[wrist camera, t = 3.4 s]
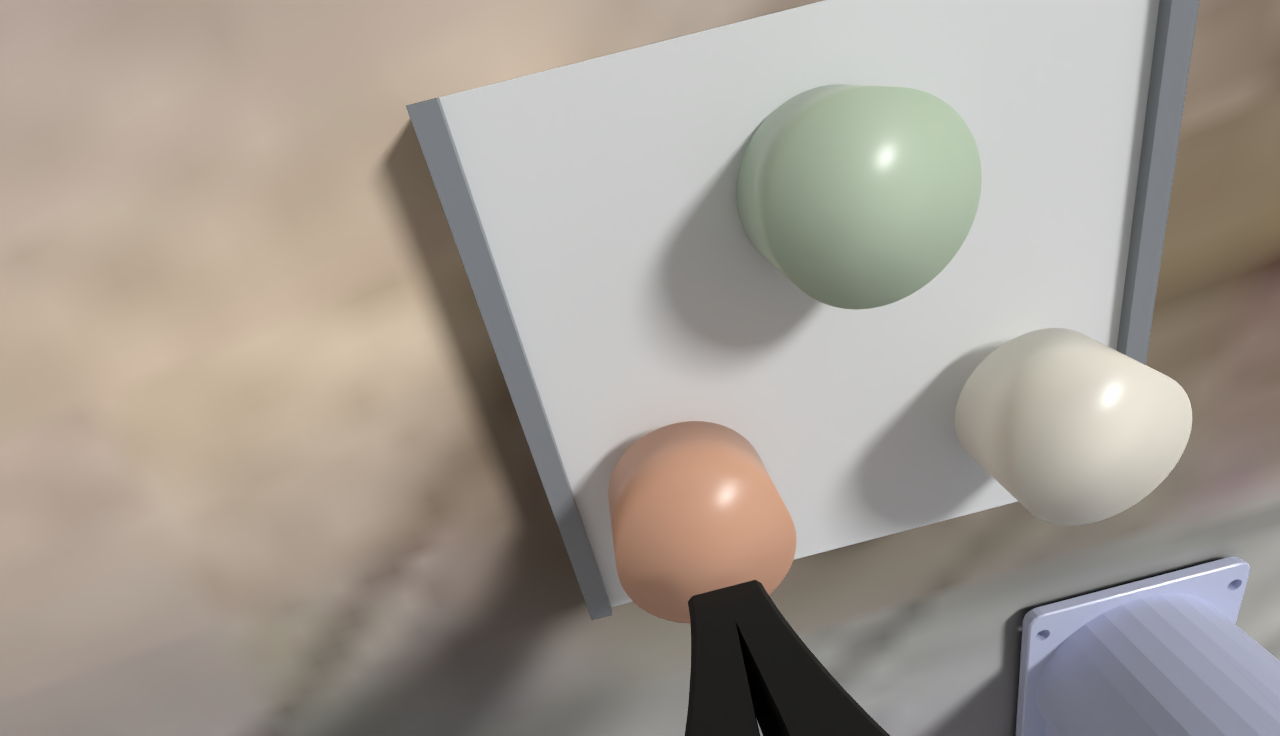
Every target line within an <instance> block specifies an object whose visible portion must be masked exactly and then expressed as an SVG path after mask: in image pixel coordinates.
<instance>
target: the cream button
mask: <svg viewBox="0 0 1280 736" xmlns="http://www.w3.org/2000/svg"><path fill="white" fill-rule="evenodd" d="M954 422H955V431H956V435H957V438H958V440H959V443H960V445H961V446H962V448H963V449H964V451H965V452H966V453H967V454H968V455H969V456H970V457H971V458H973V459H974V460H975V461H976V462H977V463H978V464H979V465H980V466H981V467H982V468H983V469H984V470H985V471H987V472H988V473H989V474H990V475H991V476H992V477H993V478H994V479H995V480H996V481H997V482H998V483H999V484H1000V485H1002V486H1003V487H1004V488H1005V489H1006V490H1007V491H1008V492H1009V493H1010V494H1011V495H1012V496H1013V497H1014V498H1015V499H1017V500H1018V501H1019V502H1020V503H1021V504H1022V505H1023V506H1024V507H1025V508H1026V509H1027V510H1028V511H1029V512H1030V513H1032V514H1033V515H1034V516H1036V517H1037V518H1039V519H1041V520H1043V521H1046V522H1049V523H1052V524H1057V525H1070V526H1074V525H1084V524H1089V523H1094V522H1097V521H1101V520H1104V519H1107V518H1109V517H1112V516H1114V515H1116V514H1118V513H1120V512H1122V511H1124V510H1126V509H1128V508H1130V507H1131V506H1133V505H1134V504H1136V503H1138V502H1139V501H1140V500H1142V499H1143V498H1144V497H1146V496H1147V495H1148V494H1150V493H1151V492H1152V491H1153V490H1154V489H1155V488H1156V487H1157V486H1158V485H1159V484H1160V483H1161V482H1162V481H1163V480H1164V479H1165V478H1166V477H1167V476H1168V474H1169V473H1170V472H1171V471H1172V469H1173V468H1174V467H1175V465H1176V464H1177V462H1178V461H1179V459H1180V457H1181V455H1182V453H1183V452H1184V450H1185V447H1186V445H1187V442H1188V440H1189V436H1190V432H1191V426H1192V409H1191V404H1190V401H1189V398H1188V396H1187V394H1186V392H1185V391H1184V390H1183V388H1182V387H1181V386H1180V385H1179V384H1178V383H1177V382H1176V381H1175V380H1173V379H1171V378H1170V377H1168V376H1166V375H1164V374H1162V373H1160V372H1158V371H1156V370H1154V369H1152V368H1150V367H1148V366H1146V365H1144V364H1142V363H1140V362H1138V361H1136V360H1134V359H1132V358H1130V357H1128V356H1126V355H1124V354H1122V353H1120V352H1118V351H1116V350H1114V349H1112V348H1110V347H1108V346H1106V345H1104V344H1102V343H1100V342H1098V341H1096V340H1094V339H1092V338H1090V337H1088V336H1086V335H1084V334H1082V333H1079V332H1077V331H1074V330H1070V329H1065V328H1045V329H1040V330H1035V331H1032V332H1028V333H1025V334H1023V335H1020V336H1018V337H1016V338H1014V339H1012V340H1010V341H1008V342H1006V343H1005V344H1003V345H1002V346H1000V347H999V348H997V349H996V350H995V351H993V352H992V353H991V354H990V355H989V356H987V357H986V358H985V359H984V360H983V361H982V362H981V363H980V364H979V365H978V366H977V368H976V369H975V370H974V372H973V373H972V374H971V375H970V377H969V379H968V380H967V382H966V383H965V385H964V387H963V389H962V391H961V393H960V396H959V399H958V402H957V405H956V410H955V420H954Z"/></svg>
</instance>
